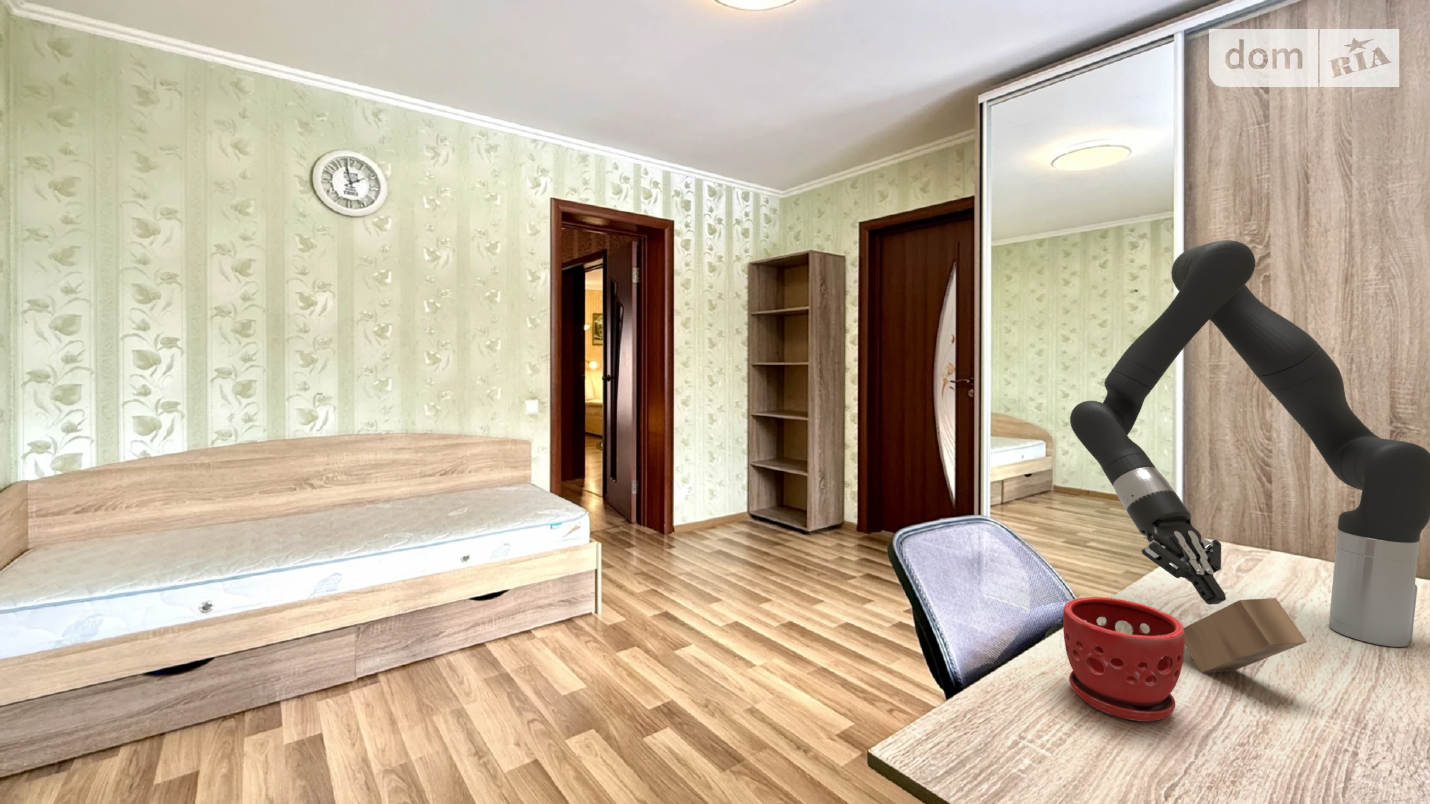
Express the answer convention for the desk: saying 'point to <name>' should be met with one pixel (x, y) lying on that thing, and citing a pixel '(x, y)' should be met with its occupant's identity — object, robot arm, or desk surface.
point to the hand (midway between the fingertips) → (1217, 602)
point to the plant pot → (1123, 657)
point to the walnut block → (1241, 635)
